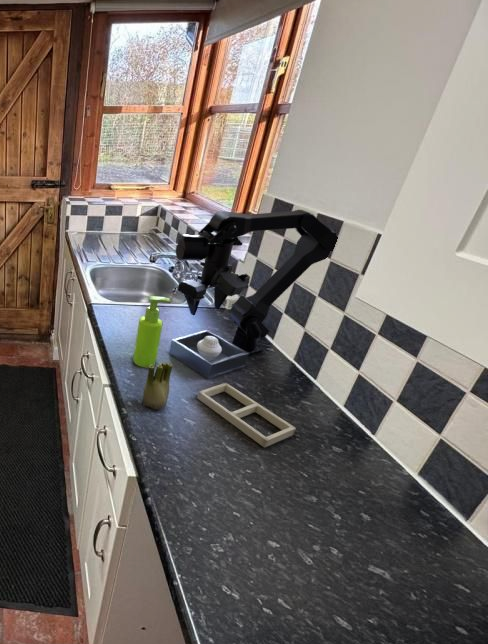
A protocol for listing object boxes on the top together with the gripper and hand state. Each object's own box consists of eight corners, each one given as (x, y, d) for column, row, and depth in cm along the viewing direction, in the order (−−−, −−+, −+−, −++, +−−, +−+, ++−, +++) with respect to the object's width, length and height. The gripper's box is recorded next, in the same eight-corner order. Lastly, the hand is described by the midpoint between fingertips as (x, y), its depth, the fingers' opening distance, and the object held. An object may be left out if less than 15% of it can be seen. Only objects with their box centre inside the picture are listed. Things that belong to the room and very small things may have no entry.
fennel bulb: (141, 409, 96) (148, 367, 91) (140, 396, 100) (148, 355, 95) (167, 414, 95) (176, 371, 89) (165, 400, 99) (174, 359, 94)
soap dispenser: (160, 369, 111) (173, 303, 102) (134, 366, 112) (144, 301, 103) (157, 357, 116) (168, 294, 107) (131, 354, 117) (141, 292, 109)
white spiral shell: (224, 361, 112) (229, 339, 109) (207, 366, 110) (213, 344, 107) (205, 350, 118) (210, 329, 115) (189, 354, 115) (194, 333, 112)
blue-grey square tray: (203, 343, 122) (207, 329, 120) (244, 367, 111) (249, 352, 109) (169, 353, 118) (171, 339, 116) (208, 379, 106) (211, 364, 104)
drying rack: (223, 388, 102) (225, 382, 102) (293, 435, 88) (296, 428, 87) (197, 398, 99) (198, 391, 99) (264, 447, 85) (267, 440, 84)
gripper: (217, 275, 98) (204, 331, 105) (269, 264, 105) (254, 317, 111) (181, 261, 108) (171, 313, 114) (231, 251, 114) (219, 301, 121)
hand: (204, 311), depth 115 cm, fingers open, 9 cm apart
